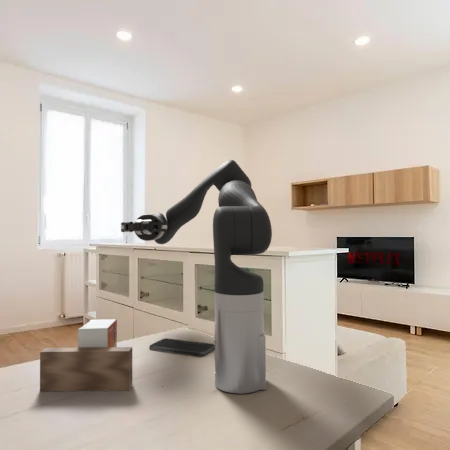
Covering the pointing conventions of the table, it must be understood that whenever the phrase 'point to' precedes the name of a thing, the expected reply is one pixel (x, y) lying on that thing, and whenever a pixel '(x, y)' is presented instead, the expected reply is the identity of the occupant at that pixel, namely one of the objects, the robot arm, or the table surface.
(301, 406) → the table surface
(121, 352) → the walnut board
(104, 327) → the small box
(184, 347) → the phone
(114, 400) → the table surface
